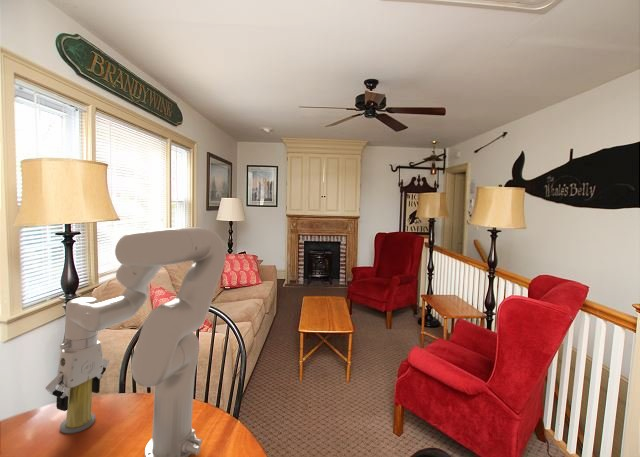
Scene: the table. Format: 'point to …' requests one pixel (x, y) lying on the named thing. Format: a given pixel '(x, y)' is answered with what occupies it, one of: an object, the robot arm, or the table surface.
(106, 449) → the table surface
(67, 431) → the coaster
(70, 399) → the vase
